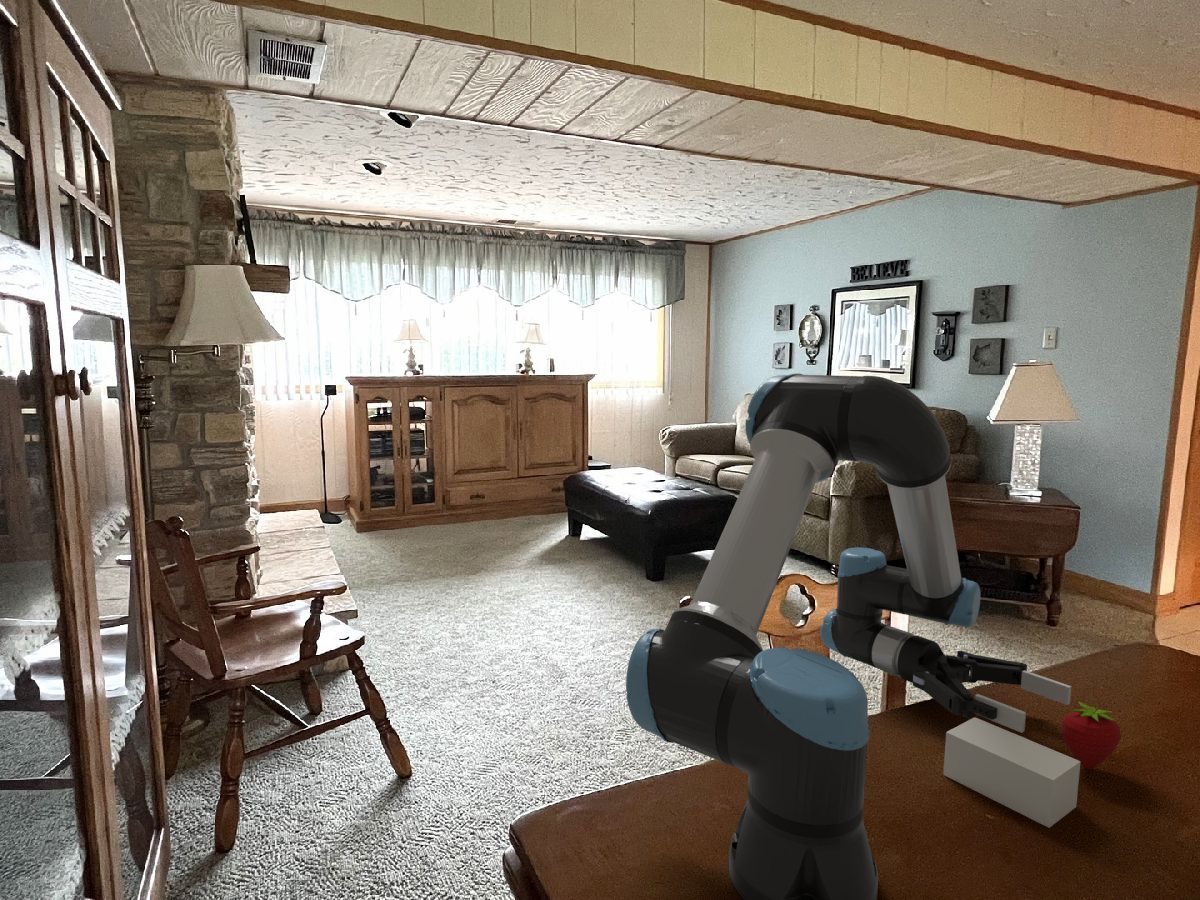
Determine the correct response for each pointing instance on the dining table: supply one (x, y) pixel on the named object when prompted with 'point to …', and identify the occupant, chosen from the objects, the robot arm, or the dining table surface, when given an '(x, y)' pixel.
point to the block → (1012, 770)
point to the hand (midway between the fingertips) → (1047, 708)
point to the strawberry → (1090, 734)
